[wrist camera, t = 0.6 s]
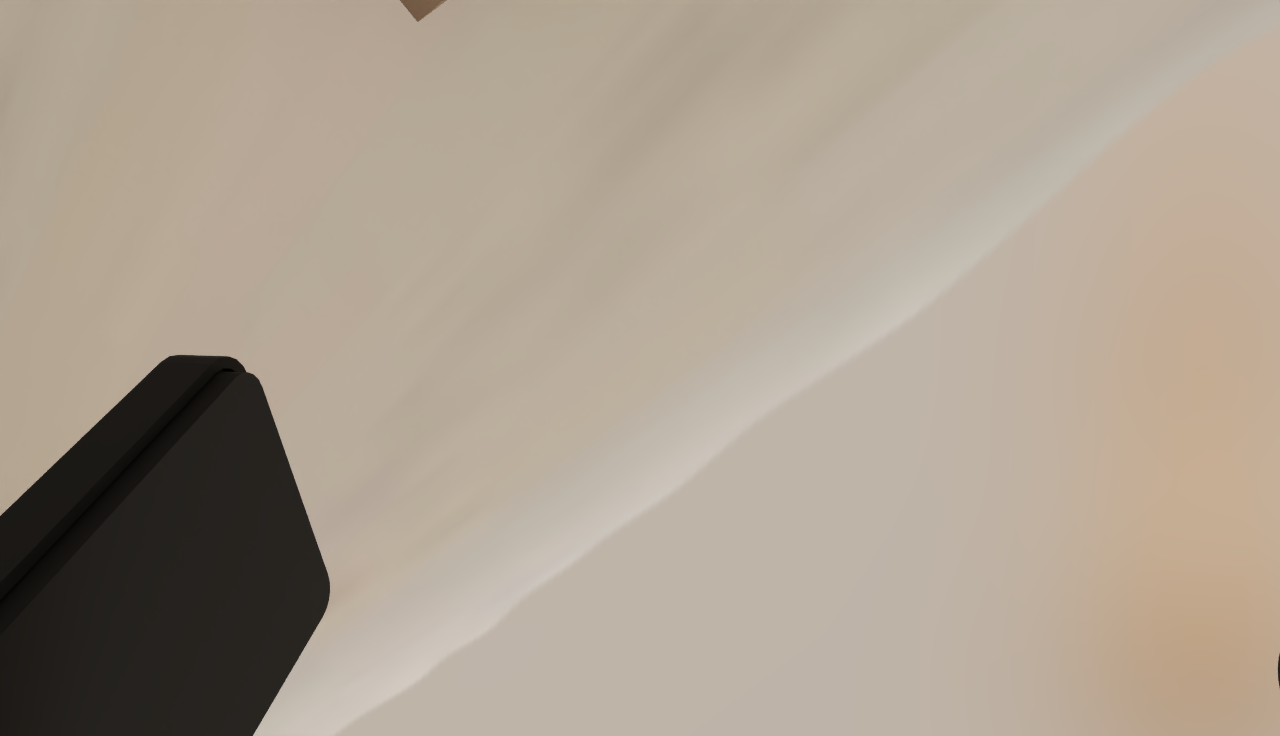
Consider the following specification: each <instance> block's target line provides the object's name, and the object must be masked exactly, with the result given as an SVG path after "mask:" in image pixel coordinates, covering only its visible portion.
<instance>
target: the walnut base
mask: <svg viewBox="0 0 1280 736" xmlns="http://www.w3.org/2000/svg"><path fill="white" fill-rule="evenodd" d="M400 1H401V2H402V3H403V4H404V6H405V7H406V8H407V9H408V11H409V12H410V13H411V14H412V15H413V17H414V18H415V19H416V20H417V22H418V21H420V20H421V19H422V18H424V17H425V16H426V15H428V14H429V13H430V12H432V11H433V10H434V9H436V8H437V7H438V6H440V5H441V4H442V3H444V2H445V1H446V0H400Z"/></svg>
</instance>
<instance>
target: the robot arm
mask: <svg viewBox="0 0 1280 736" xmlns="http://www.w3.org/2000/svg"><path fill="white" fill-rule="evenodd" d="M329 594H330V581H329V577H328V573H327V570H326V567H325V565H324V562H323V559H322V556H321V553H320V550H319V547H318V545H317V542H316V539H315V536H314V533H313V530H312V528H311V525H310V522H309V519H308V516H307V513H306V510H305V508H304V505H303V502H302V499H301V496H300V493H299V490H298V488H297V485H296V482H295V479H294V476H293V473H292V470H291V468H290V465H289V462H288V459H287V456H286V453H285V450H284V448H283V445H282V442H281V439H280V436H279V433H278V431H277V428H276V425H275V422H274V419H273V416H272V413H271V411H270V408H269V405H268V402H267V399H266V396H265V393H264V391H263V388H262V386H261V384H260V381H259V379H258V378H257V377H256V376H255V375H254V374H251V373H248V372H246V370H245V368H244V367H243V365H242V364H241V363H240V362H239V361H238V360H237V359H234V358H231V357H227V356H195V355H175V356H169V357H168V358H166V359H165V360H163V361H162V362H161V363H159V364H158V365H157V366H156V367H155V368H154V369H153V370H152V371H151V372H150V373H149V374H148V375H147V376H146V377H145V378H144V379H143V380H142V381H141V382H140V383H139V384H138V385H137V386H135V387H134V388H133V389H132V390H131V391H130V392H129V393H128V394H127V395H126V396H125V397H124V398H123V399H122V400H121V401H120V402H119V403H118V404H117V405H116V406H115V407H114V408H113V409H111V410H110V411H109V412H108V413H107V414H106V415H105V416H104V417H103V418H102V419H101V420H100V421H99V422H98V423H97V424H96V425H95V426H94V427H93V428H92V429H91V430H90V431H89V432H87V433H86V434H85V435H84V436H83V437H82V438H81V439H80V440H79V441H78V442H77V443H76V444H75V445H74V446H73V447H72V448H71V449H70V450H69V451H68V452H67V453H66V454H65V455H63V456H62V457H61V458H60V459H59V460H58V461H57V462H56V463H55V464H54V465H53V466H52V467H51V468H50V469H49V470H48V471H47V472H46V473H45V474H44V475H43V476H42V477H41V478H39V479H38V480H37V481H36V482H35V483H34V484H33V485H32V486H31V487H30V488H29V489H28V490H27V491H26V492H25V493H24V494H23V495H22V496H21V497H20V498H19V499H18V500H17V501H16V502H14V503H13V504H12V505H11V506H10V507H9V508H8V509H7V510H6V511H5V512H4V513H3V514H2V515H1V516H0V736H253V734H254V733H255V731H256V729H257V728H258V726H259V724H260V723H261V721H262V719H263V717H264V716H265V714H266V712H267V711H268V709H269V707H270V706H271V704H272V702H273V700H274V699H275V697H276V695H277V694H278V692H279V690H280V689H281V687H282V685H283V683H284V682H285V680H286V678H287V677H288V675H289V673H290V672H291V670H292V668H293V666H294V665H295V663H296V661H297V660H298V658H299V656H300V655H301V653H302V651H303V649H304V648H305V646H306V644H307V643H308V641H309V639H310V638H311V636H312V634H313V632H314V631H315V629H316V627H317V626H318V624H319V622H320V621H321V619H322V617H323V615H324V613H325V611H326V608H327V605H328V601H329ZM1278 680H1279V686H1280V655H1279V661H1278Z"/></svg>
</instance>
